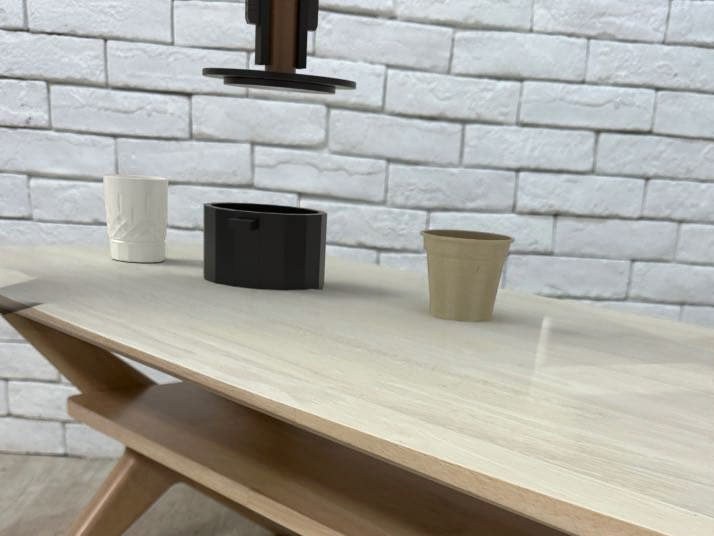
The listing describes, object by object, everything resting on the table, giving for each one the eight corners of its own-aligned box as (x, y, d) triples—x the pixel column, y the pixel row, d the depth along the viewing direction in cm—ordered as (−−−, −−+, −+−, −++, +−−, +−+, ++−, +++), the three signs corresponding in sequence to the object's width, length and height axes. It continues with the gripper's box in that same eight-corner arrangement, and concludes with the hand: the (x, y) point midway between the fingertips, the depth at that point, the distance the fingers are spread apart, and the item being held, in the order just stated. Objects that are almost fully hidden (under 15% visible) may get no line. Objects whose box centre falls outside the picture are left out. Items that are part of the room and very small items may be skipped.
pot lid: (178, 78, 91) (177, -37, 88) (232, 88, 105) (233, -11, 101) (335, 90, 89) (341, -27, 86) (369, 98, 103) (375, -2, 99)
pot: (177, 290, 107) (176, 207, 104) (233, 270, 125) (234, 199, 121) (300, 302, 105) (303, 219, 102) (339, 281, 123) (343, 209, 120)
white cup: (181, 262, 128) (181, 180, 124) (127, 264, 122) (125, 178, 119) (146, 254, 133) (145, 175, 129) (93, 256, 127) (90, 173, 123)
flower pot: (437, 330, 96) (445, 238, 93) (399, 313, 104) (405, 227, 101) (521, 330, 100) (532, 241, 97) (478, 313, 108) (487, 230, 105)
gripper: (203, -262, 81) (202, 56, 90) (388, -222, 87) (371, 73, 96) (189, -235, 88) (190, 59, 97) (362, -200, 93) (348, 75, 102)
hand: (280, 66), depth 96 cm, fingers closed on pot lid, 3 cm apart
